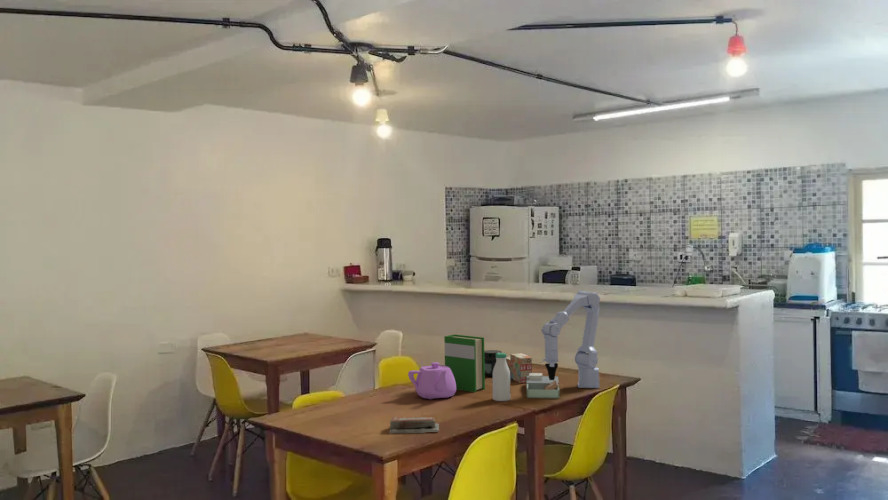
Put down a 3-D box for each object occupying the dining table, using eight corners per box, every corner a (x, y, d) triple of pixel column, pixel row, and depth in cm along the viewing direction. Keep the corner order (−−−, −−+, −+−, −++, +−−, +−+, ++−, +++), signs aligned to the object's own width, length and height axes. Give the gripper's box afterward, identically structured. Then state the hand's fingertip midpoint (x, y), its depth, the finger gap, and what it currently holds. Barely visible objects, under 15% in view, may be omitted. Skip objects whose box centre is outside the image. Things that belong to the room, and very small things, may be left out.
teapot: (404, 394, 322) (403, 361, 322) (448, 390, 328) (448, 358, 328) (417, 406, 300) (416, 370, 300) (464, 401, 307) (464, 366, 306)
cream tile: (542, 377, 335) (542, 373, 335) (542, 380, 329) (542, 375, 329) (529, 377, 336) (529, 373, 336) (529, 379, 330) (529, 375, 330)
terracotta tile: (558, 383, 322) (555, 379, 322) (558, 386, 316) (555, 382, 316) (547, 390, 322) (544, 387, 322) (547, 393, 316) (544, 390, 316)
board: (557, 384, 337) (557, 376, 337) (559, 392, 322) (558, 383, 322) (526, 384, 339) (526, 376, 338) (526, 391, 324) (526, 382, 324)
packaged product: (389, 421, 260) (391, 414, 270) (389, 434, 260) (391, 427, 270) (438, 420, 260) (438, 413, 270) (438, 434, 260) (439, 426, 270)
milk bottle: (509, 401, 305) (508, 355, 305) (491, 401, 307) (490, 354, 306) (511, 397, 313) (510, 352, 312) (494, 397, 314) (493, 351, 314)
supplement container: (506, 374, 364) (506, 350, 363) (496, 378, 355) (496, 353, 355) (488, 372, 369) (488, 349, 369) (478, 376, 360) (477, 352, 360)
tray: (558, 392, 322) (558, 384, 322) (559, 398, 310) (559, 390, 310) (527, 391, 324) (527, 383, 324) (526, 397, 312) (526, 389, 312)
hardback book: (484, 389, 330) (484, 337, 329) (475, 392, 324) (474, 339, 324) (455, 384, 341) (454, 334, 341) (445, 387, 336) (444, 336, 335)
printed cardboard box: (503, 375, 362) (503, 350, 362) (514, 374, 364) (514, 350, 364) (520, 383, 342) (520, 357, 341) (532, 382, 344) (532, 357, 343)
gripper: (542, 347, 329) (542, 376, 330) (542, 352, 315) (543, 383, 315) (557, 347, 328) (558, 376, 329) (558, 352, 314) (559, 383, 314)
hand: (551, 379), depth 322 cm, fingers closed
